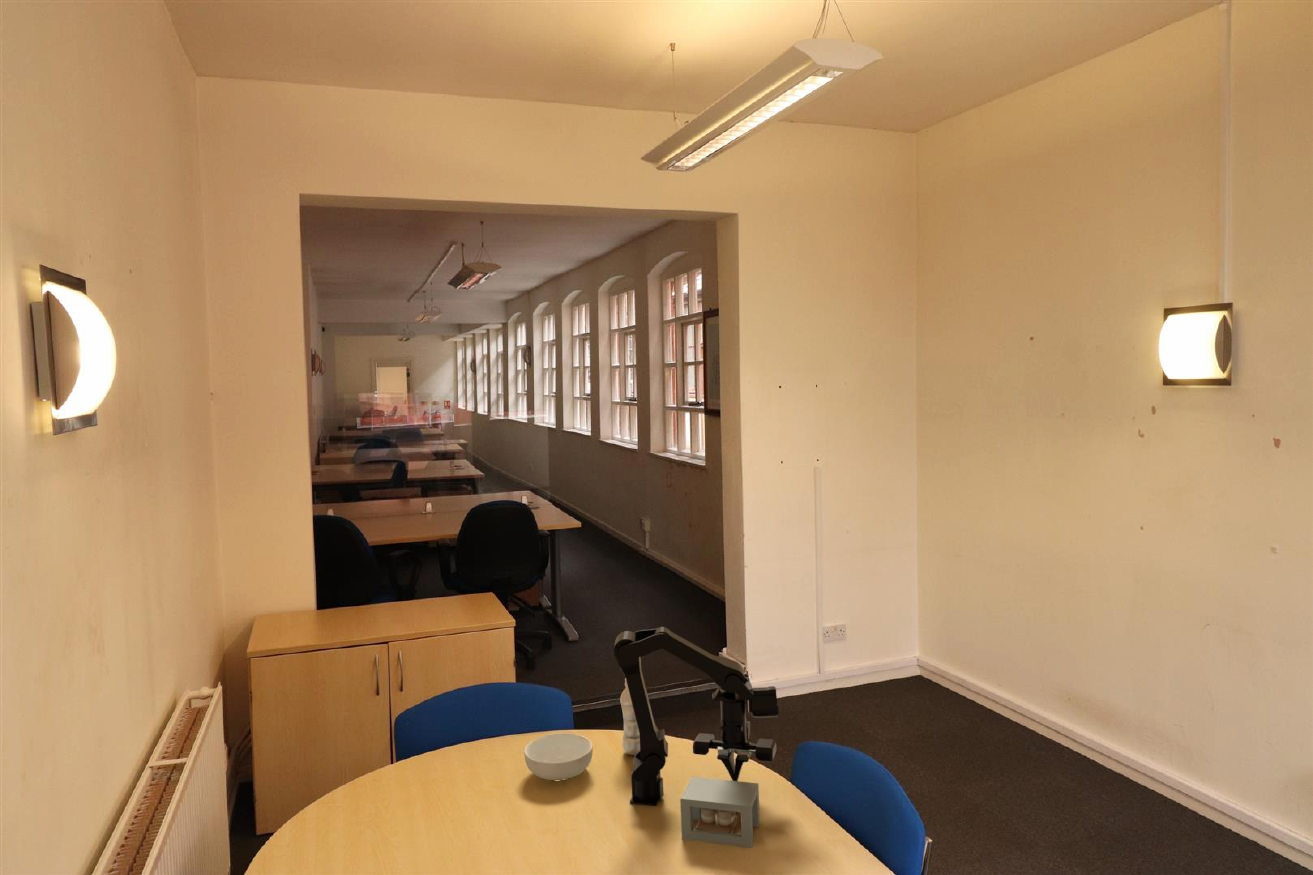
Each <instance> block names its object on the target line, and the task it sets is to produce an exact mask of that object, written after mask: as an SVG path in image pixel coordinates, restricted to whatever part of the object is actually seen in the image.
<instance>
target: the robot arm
mask: <svg viewBox="0 0 1313 875" xmlns="http://www.w3.org/2000/svg"><path fill="white" fill-rule="evenodd" d="M660 650H664V651H666V652H667V653H669V654H671V655H673V656H674V657H676V658H678V659H679V660H682V661H683V662H685V663H686V664H688V665H691V666H692V667H694V668H696V669H698V670H699V671H701V672H703V673H704V674H705V675H707V676H708V677H709V678H710V679H711V680H712V681H713V682H714V683H715V685H717V686H718V687H717V688H716V690H715V691H713V692H712V693H711V694H712V695H711V696H712V701H713V702H720V731H721V740H717V739H715V735H714V734H712V733H701V732H699V733H698V735H697V736H696V737H695V739H694V740H693V742H692V753H693V754H694V755H699V756H706V755H707V754H708V753H709V752H710V750H711V749H712V750H717V756H716V758H717V760H719V761H721V763H722V764H723V765H724V767H725V769H726V770H727V772H728V775H729V776H730V778H731V781H739V778H740V774H741V772H742V769H743V768H742V767H743V764H744V763H748V762H749V761H750V758H751V756H752V753H754V755H755V758H756V759H757V760H758V761H763V762H772V761H774V759H775V755H776V752H777V743H776V741H775V740H774V739H769V738H758V740H757V743H752V742H749V739H750V736H751V721H748V720H747V717H746V715H747V714H746V712H748V714H751V717H753V718H758V719H759V718H778V717H779V714H780V713H779V703H778V698H777V696H778V695H777V688H776V686H775V685H774V686H773V685H772V686H765V687H753V686H752V683H751V681H750V680H749V679H748V678H747V677H746V676H745V672H744V668H743V666H742V665H741V663H740V662H738V661H736V660H733V659H731V658H727V657H725V656H717V655H715V654H711V653H710V652H708V651H706V650H704V649H703V648H701V647H699V646H698V645H695V644H694V643H692V642H690V641H688V640H687V639H685V638H683V637H681V636H680V635H678V634H676V633H675V632H672V631H671V630H670V629H669V628H667V627H665V626H659V627H656V628H651V629H650V628H649V629H639V630H635V631H629V630H624V631H622V632H620V633H619V634H618V635H617V637H616V638H615V641H614V647H613V656H614V658H615V660H616V662H617V665H618V667H619V668H620V670H621V672H622V675H623V676H624V678H626V681H627V685H628V689H629V693H630V697H631V701H632V705H633V709H634V713H635V717H636V721H637V725H638V729H639V733H640V751H639V752H638V753H637V754H636V755H633V762H632V764H633V765H632V770H631V774H630V776H631V778H630V779H631V797H630V799H629V803H631V804H636V805H637V804H638V805H647V806H657V805H658V804H659V801H660V800H662V797H663V796H664V778H663V777H661V770H663V768H664V767H665V765H666V762H667V761H666V759H667V757H668V756H669V743H668V741H667V740H666V736H665V735H666V734H665V729H664V728H663V729H659V728H658V727H657V725H656V723H655V720H654V719H655V718H654V716H653V712H652V708H651V704H650V699H649V695H648V691H647V688H646V687H647V686H646V682H645V680H644V675H643V672H642V660H641V658H642V657H644V656H645V657H646V656H647V655H649V654H651V653H654V652H656V651H660ZM746 701H747V709H748V710H747V711H746ZM735 752H736V753H737V754H736V757H735Z"/></svg>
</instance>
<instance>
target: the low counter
mask: <svg viewBox="0 0 1313 875" xmlns="http://www.w3.org/2000/svg"><path fill="white" fill-rule="evenodd" d="M759 786H760V785H759V783H757V782H749V781H748V782H747V781H739V780H738V781H732V780H730V779H719V778H710V777H702V776H701V777H699V776H691V777H690V779H689V782H688V783H687V785H686V787H685V788H684V791H683V793H682V795H681V796H680V798H679V801H680V803H679V804H680V822H681V823H680V825H681V826H680V827H681V840H687V841H695V842H704V843H709V844H711V843H712V844H719V845H727V846H734V847H741V848H742V847H744V848H749V849H750V848H752V846H753V844H754V830H753V828H759V826H760V824H761V823H760V822H761V821H760V791H759V789H760V788H759ZM701 808H708V809H717V810H726V811H735V812H736V813H737V812H738V813H740V828H741V831H740V832H741V833H740V834H738V833H723V832H715V831H707V830H698V829H695V828H694V823H693V822H694V821H697V822H699V821H700V819H701Z"/></svg>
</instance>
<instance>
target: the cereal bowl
mask: <svg viewBox="0 0 1313 875" xmlns="http://www.w3.org/2000/svg"><path fill="white" fill-rule="evenodd" d="M593 746H594V745H593V743H592V741H591V740H590V739H589V738H587V737H585V736H583V735H581V734H576V733H572V732H571V733H568V732H558V733H551V734H545V735H543V736H540V737H537V738H535V739H533V740H531V741H530V742H528V744H526V746H525V748H524V752H523V753H524V760H525V761H524V762H525V764H526V767H527V768H528V770H529V771H530V772H531V773H532V774H533V775H534V776H536V777H537V778H541V779H544V780H548V781H551V780H563V779H567V780H569V779H568V778H570V779H572V778H574V777H576V776H579V775H580V774H581V773H583V772H584V771H586V770H587V768H588V767H589V765H590V763H591V762H592V758H593V752H594V751H593Z"/></svg>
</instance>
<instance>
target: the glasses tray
mask: <svg viewBox="0 0 1313 875" xmlns="http://www.w3.org/2000/svg"><path fill="white" fill-rule="evenodd" d="M737 824H738V814H737V812H735V811H726V810H717V809H708V808H701V819H700V821H697V824H696V826H695V827H694V829H698V830H707V831H715V832H723V833H731V834H733V832H734V829H735V828H736V825H737Z"/></svg>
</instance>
